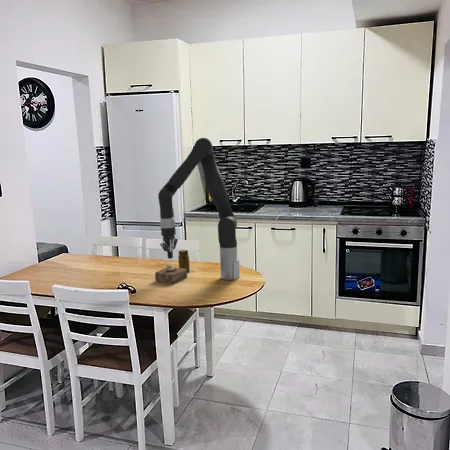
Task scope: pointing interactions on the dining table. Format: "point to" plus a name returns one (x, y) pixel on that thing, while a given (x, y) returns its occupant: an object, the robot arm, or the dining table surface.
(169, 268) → the peg
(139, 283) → the dining table surface
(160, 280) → the socket block
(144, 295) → the dining table surface
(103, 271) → the dining table surface
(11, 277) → the dining table surface
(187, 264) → the condiment
